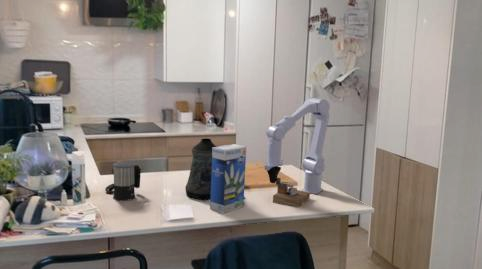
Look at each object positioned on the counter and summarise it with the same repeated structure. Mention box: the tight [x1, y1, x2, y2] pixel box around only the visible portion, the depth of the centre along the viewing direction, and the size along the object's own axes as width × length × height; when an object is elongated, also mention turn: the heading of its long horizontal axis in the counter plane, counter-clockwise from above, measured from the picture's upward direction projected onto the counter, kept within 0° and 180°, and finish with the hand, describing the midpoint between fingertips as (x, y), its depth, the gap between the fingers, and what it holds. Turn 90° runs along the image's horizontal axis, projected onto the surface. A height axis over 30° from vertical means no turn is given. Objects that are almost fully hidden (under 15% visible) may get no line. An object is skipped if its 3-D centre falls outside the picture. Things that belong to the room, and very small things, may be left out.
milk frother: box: [105, 161, 142, 201], centre depth 208 cm, size 14×16×15 cm
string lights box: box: [209, 143, 247, 214], centre depth 197 cm, size 13×8×26 cm, turn 139°
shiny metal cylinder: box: [288, 187, 298, 196], centre depth 213 cm, size 4×4×6 cm
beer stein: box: [185, 138, 217, 201], centre depth 215 cm, size 16×19×25 cm
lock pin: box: [275, 177, 294, 188], centre depth 214 cm, size 2×8×3 cm, turn 64°
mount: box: [272, 180, 311, 208], centre depth 213 cm, size 14×12×7 cm
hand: (272, 182), depth 216 cm, fingers closed, pressing on lock pin
